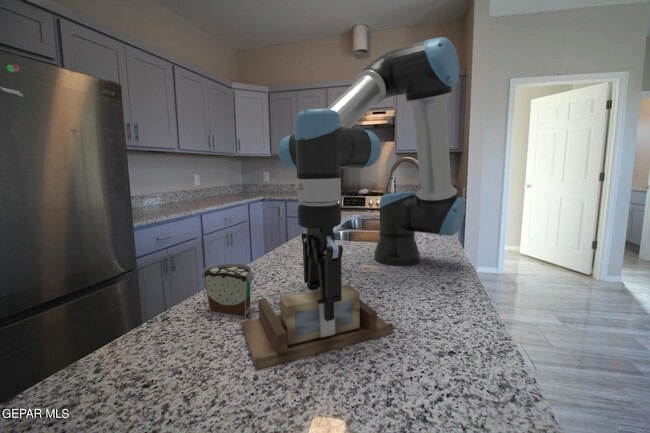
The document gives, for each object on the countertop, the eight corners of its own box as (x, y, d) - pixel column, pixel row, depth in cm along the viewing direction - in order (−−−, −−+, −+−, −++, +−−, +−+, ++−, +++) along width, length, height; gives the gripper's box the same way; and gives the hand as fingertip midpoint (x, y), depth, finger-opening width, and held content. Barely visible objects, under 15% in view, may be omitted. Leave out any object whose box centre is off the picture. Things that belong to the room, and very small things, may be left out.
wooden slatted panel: (354, 303, 73) (354, 282, 72) (392, 333, 59) (393, 308, 59) (241, 326, 63) (240, 303, 62) (256, 369, 49) (254, 340, 49)
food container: (266, 306, 72) (264, 265, 71) (251, 319, 66) (249, 273, 65) (221, 300, 76) (218, 260, 75) (204, 311, 70) (200, 268, 69)
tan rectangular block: (349, 318, 62) (349, 284, 61) (359, 328, 59) (359, 292, 57) (281, 333, 57) (279, 297, 56) (288, 345, 53) (286, 306, 52)
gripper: (284, 200, 61) (288, 313, 64) (318, 210, 45) (321, 359, 48) (320, 197, 64) (322, 306, 67) (363, 206, 48) (363, 347, 51)
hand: (321, 328), depth 58 cm, fingers closed on tan rectangular block, 4 cm apart
